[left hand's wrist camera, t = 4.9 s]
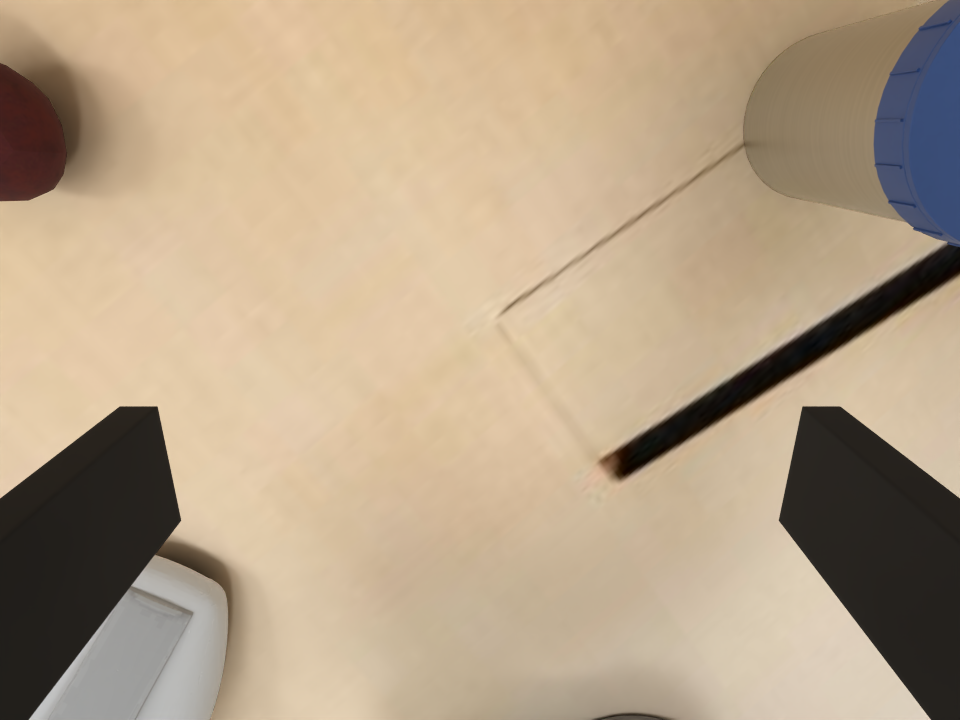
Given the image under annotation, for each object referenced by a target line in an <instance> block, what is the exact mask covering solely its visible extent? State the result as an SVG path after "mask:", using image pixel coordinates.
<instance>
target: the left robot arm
mask: <svg viewBox="0 0 960 720" xmlns="http://www.w3.org/2000/svg"><path fill="white" fill-rule="evenodd" d="M180 521H181V518H180V513H179V508H178V503H177V498H176V493H175V489H174V484H173V479H172V474H171V469H170V465H169V460H168V455H167V450H166V445H165V440H164V436H163V431H162V426H161V421H160V416H159V411H158V407H119V408H117V409H116V410H115V411H113V412H112V413H111V414H110V415H108V416H107V417H106V418H104V419H103V420H102V421H100V422H99V423H98V424H96V425H95V426H94V427H93V428H91V429H90V430H89V431H87V432H86V433H85V434H83V435H82V436H81V437H80V438H78V439H77V440H76V441H74V442H73V443H72V444H70V445H69V446H68V447H67V448H65V449H64V450H63V451H61V452H60V453H59V454H57V455H56V456H55V457H54V458H52V459H51V460H50V461H48V462H47V463H46V464H44V465H43V466H42V467H41V468H39V469H38V470H37V471H35V472H34V473H33V474H31V475H30V476H29V477H28V478H26V479H25V480H24V481H22V482H21V483H20V484H18V485H17V486H16V487H15V488H13V489H12V490H11V491H9V492H8V493H7V494H5V495H4V496H3V497H2V498H0V720H29V719H30V718H31V716H32V715H33V714H34V712H35V711H36V710H37V708H38V707H39V706H40V704H41V703H42V702H43V701H44V699H45V698H46V697H47V695H48V694H49V693H50V691H51V690H52V689H53V687H54V686H55V685H56V684H57V682H58V681H59V680H60V678H61V677H62V676H63V674H64V673H65V672H66V670H67V669H68V668H69V667H70V665H71V664H72V663H73V661H74V660H75V659H76V657H77V656H78V655H79V653H80V652H81V651H82V650H83V648H84V647H85V646H86V644H87V643H88V642H89V640H90V639H91V638H92V636H93V635H94V634H95V633H96V631H97V630H98V629H99V627H100V626H101V625H102V623H103V622H104V621H105V619H106V618H107V617H108V616H109V614H110V613H111V612H112V610H113V609H114V608H115V606H116V605H117V604H118V602H119V601H120V600H121V599H122V597H123V596H124V595H125V593H126V592H127V591H128V589H129V588H130V587H131V585H132V584H133V583H134V582H135V580H136V579H137V578H138V576H139V575H140V574H141V572H142V571H143V570H144V568H145V567H146V566H147V565H148V563H149V562H150V561H151V559H152V558H153V557H154V555H155V554H156V553H157V551H158V550H159V549H160V548H161V546H162V545H163V544H164V542H165V541H166V540H167V538H168V537H169V536H170V534H171V533H172V532H173V531H174V529H175V528H176V527H177V525H178V524H179V523H180ZM779 521H780V523H781V524H782V525H783V527H784V528H785V529H786V531H787V532H788V533H789V534H790V536H791V537H792V538H793V540H794V541H795V542H796V544H797V545H798V546H799V548H800V549H801V550H802V551H803V553H804V554H805V555H806V557H807V558H808V559H809V561H810V562H811V563H812V565H813V566H814V567H815V568H816V570H817V571H818V572H819V574H820V575H821V576H822V578H823V579H824V580H825V582H826V583H827V584H828V585H829V587H830V588H831V589H832V591H833V592H834V593H835V595H836V596H837V597H838V599H839V600H840V601H841V602H842V604H843V605H844V606H845V608H846V609H847V610H848V612H849V613H850V614H851V616H852V617H853V618H854V619H855V621H856V622H857V623H858V625H859V626H860V627H861V629H862V630H863V631H864V633H865V634H866V635H867V636H868V638H869V639H870V640H871V642H872V643H873V644H874V646H875V647H876V648H877V650H878V651H879V652H880V653H881V655H882V656H883V657H884V659H885V660H886V661H887V663H888V664H889V665H890V667H891V668H892V669H893V670H894V672H895V673H896V674H897V676H898V677H899V678H900V680H901V681H902V682H903V684H904V685H905V686H906V687H907V689H908V690H909V691H910V693H911V694H912V695H913V697H914V698H915V699H916V701H917V702H918V703H919V704H920V706H921V707H922V708H923V710H924V711H925V712H926V714H927V715H928V716H929V718H930V719H931V720H960V498H958V497H957V496H956V495H955V494H953V493H952V492H951V491H949V490H948V489H947V488H945V487H944V486H943V485H942V484H940V483H939V482H938V481H936V480H935V479H934V478H932V477H931V476H930V475H929V474H927V473H926V472H925V471H923V470H922V469H921V468H919V467H918V466H917V465H916V464H914V463H913V462H912V461H910V460H909V459H908V458H906V457H905V456H904V455H903V454H901V453H900V452H899V451H897V450H896V449H895V448H893V447H892V446H891V445H890V444H888V443H887V442H886V441H884V440H883V439H882V438H880V437H879V436H878V435H877V434H875V433H874V432H873V431H871V430H870V429H869V428H867V427H866V426H865V425H864V424H862V423H861V422H860V421H858V420H857V419H856V418H854V417H853V416H852V415H850V414H849V413H848V412H847V411H845V410H844V409H843V408H841V407H802V411H801V416H800V421H799V426H798V431H797V436H796V440H795V445H794V450H793V455H792V460H791V465H790V469H789V474H788V479H787V484H786V489H785V493H784V498H783V503H782V508H781V513H780V518H779ZM601 720H662V719H658V718H653V717H648V716H634V715H629V716H616V717H610V718H605V719H601Z"/></svg>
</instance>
